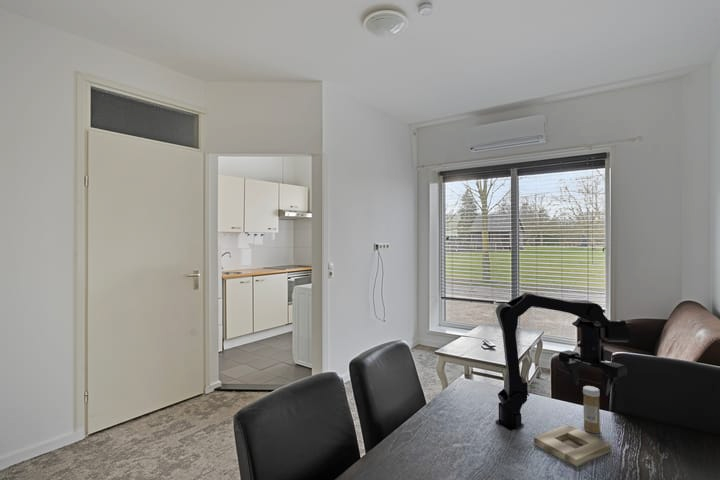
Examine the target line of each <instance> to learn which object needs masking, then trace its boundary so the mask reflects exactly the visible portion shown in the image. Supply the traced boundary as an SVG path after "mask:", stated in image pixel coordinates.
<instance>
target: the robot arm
mask: <svg viewBox="0 0 720 480" xmlns="http://www.w3.org/2000/svg"><path fill="white" fill-rule="evenodd" d="M533 307H536V308H541V309H547V310H553V311H557V312H562V313H566V314H567V313H568V314H570V315H574V316H576V317H579V318H577V319H576V320H575V321H573V322H572V323H571V324H572V326H573V327H575V328H579V342H578V343H577V344H576V345H577V348H579V352H576V351H573V350H569V349H568V350H564V351H560V352H559V353H558V355H557V356H558V357H557V359H558V361H559V362H561V364H562V365H564V367H565V368H566V369H567V372H568V374H569V375H570V377H571V379H572V381H573V383H574V384H575V386H579V384H580V373H579V370H580V369H579V368H580V365H581V364H583V365H586V366H590V367H594V368H597V369H600V370H602V372H603V374H601V378H602V388H603V394H604V396H608V395H609V393H610V391H611V389H612V386H613V384H614V383H615V381H616V380H617V379H618V378H621V377H624V376H628V369H627V367H626V365H625V364H622V363H618V362H614V361H612V358H613V354H614V353H613V351H610V350H607V349H605V345H604V343H603V344H602V339H603V340H605V342H609V343H610V342H611V343H612V342H613V343H614V342H615V343H628V342H629V341H630V339H631V332H630V330H629V327H628V325H627V321H626V320H624V319H608V318H607V316H606V315H605V314H604V310H603V307H602V306H601V305H600V304H598V303H596V302H593V301H589V300H588V299H587V300H584V299H574V300H567V299H561V298H555V297H550V296H546V295H545V296H544V295H540V294H534V293H532V292H527V291H526V292H524V293H522V294H521V295H519V296H517V297H515V298H514V299H511V300H509V301H507V302H506V303H505V302H504V303H500V304H498V305H497V307H496V308H495V314H496V317H497V320H498V324H499V326H500V329H501V333H502V341H503V342H502V343H503V350H504V351H503V352H504V359H505V368H506V369H505V370H506V374H505V378H504V386H503V387H504V388H503V389H502V390H500V391H499V392H498V393H497V396H498V399H499V401H500V402H498V419H497V420H495V421H494V422H495V423H496V424H498V425H499V426H501V427H503V428H504V429H506V430H509V431H514V430H518V429H520V428H522V427H524V426H525V425H524V423H523V422H522V413H521V410H522V407H523V405H524V404H525V403H526V402H527V401H528V397H529V396H530V394H529V390H528V389H529V388H528V387H529V386H528V384H529V383H528V381H526V379H525V378H524V376H521V370H520V369H521V368H520V360H519V352H518V351H519V350H518V341H517V334H516V333H517V329H518V326H519V325H518V323H519V317H521V316H522V315H523V314H525V313H526V312H527V311H528V310H529V309H530V308H533ZM580 318H582V319H583V320H582V319H580ZM586 320H587V321H586ZM594 322H596V323H594ZM606 361H607V362H608V363H605V362H606Z"/></svg>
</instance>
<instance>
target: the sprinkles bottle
mask: <svg viewBox="0 0 720 480" xmlns="http://www.w3.org/2000/svg"><path fill="white" fill-rule="evenodd" d="M600 391H601V390H600V389H599V388H597V387H595V386H593V385H592V386H591V385H585V386H583V387H582V395H583V429H584V430H585V431H586V432H588V433H591V434H599V433H601V427H600V426H601V425H600V424H601V413H600V396H601V395H600V394H601V393H600Z"/></svg>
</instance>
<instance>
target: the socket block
mask: <svg viewBox="0 0 720 480" xmlns="http://www.w3.org/2000/svg"><path fill="white" fill-rule="evenodd" d="M533 444H534V445H536V446H538V447H540V448H541V449H543V450H545V451H547V452H548V453H550V454H552V455H554V456H555V457H557V458H559V459H561V460H563V461H564V462H566V463H567V464H571V465H572V466H573V467H576V468H578V467H580V466H583V465H584V464H586V463H588V462H590V461H593V460H595V459H596V458H600V457H601V456H603V455H605V454H607V453H608V454H609V452H611V451H612V446H611V443H609V442H607V441H605V440H603V439H600V438H598V437H596V436H594V435H593V434H590V433H589V432H588V433H587V432H585V431H583V430H581V429H579V428H576V427H575V426H572V425H569V423H568V424H567V423H566V424H565V425H563V426H559V427H556V428H555V429H551V430H549V431H546V432H543V433H541V434H538V435H535V436H533Z"/></svg>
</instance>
